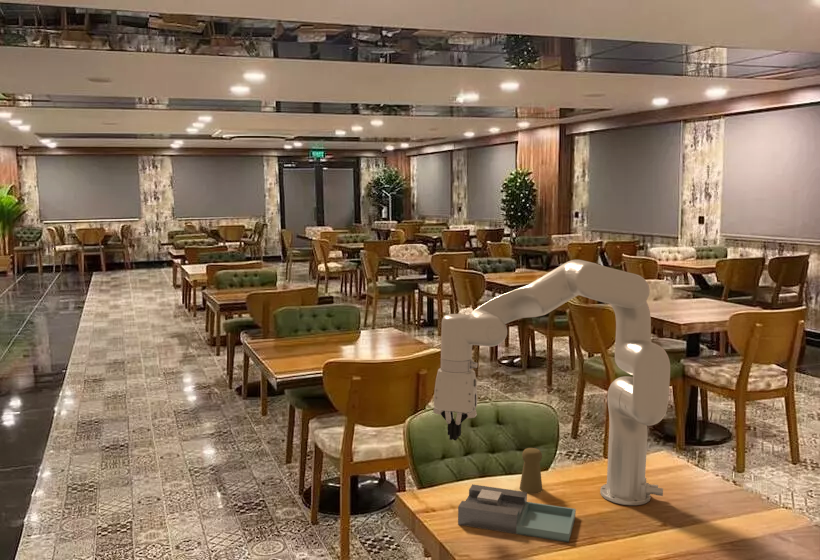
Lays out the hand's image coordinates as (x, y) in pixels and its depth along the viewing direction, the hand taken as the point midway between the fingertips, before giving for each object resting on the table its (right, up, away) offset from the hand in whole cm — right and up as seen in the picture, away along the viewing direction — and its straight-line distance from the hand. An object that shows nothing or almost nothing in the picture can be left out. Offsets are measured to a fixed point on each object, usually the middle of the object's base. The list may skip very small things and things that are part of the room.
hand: (454, 438), depth 178 cm
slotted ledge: (+9, -19, -1) cm, 21 cm away
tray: (+22, -20, -5) cm, 30 cm away
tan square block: (+9, -16, -1) cm, 18 cm away
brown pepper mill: (+22, -17, +16) cm, 32 cm away
